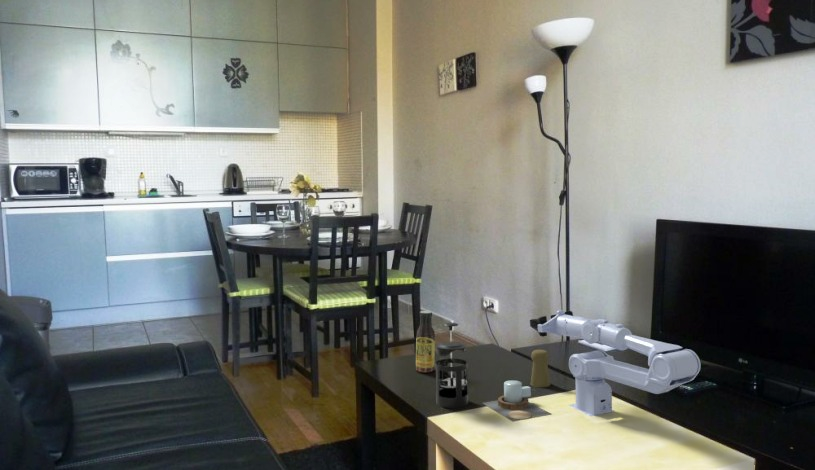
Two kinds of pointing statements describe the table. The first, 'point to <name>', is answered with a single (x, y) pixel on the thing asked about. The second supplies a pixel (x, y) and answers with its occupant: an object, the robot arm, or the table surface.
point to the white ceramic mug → (515, 391)
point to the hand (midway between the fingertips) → (541, 320)
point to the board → (516, 409)
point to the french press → (451, 387)
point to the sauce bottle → (425, 344)
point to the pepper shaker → (540, 369)
